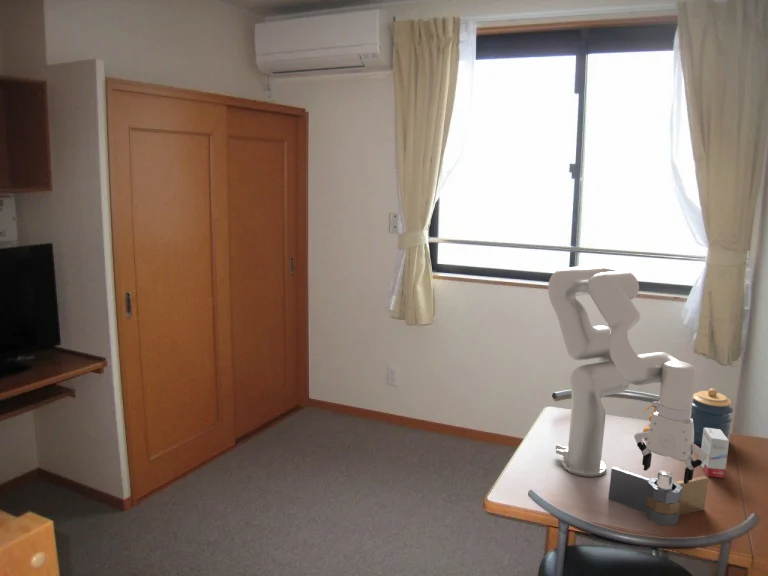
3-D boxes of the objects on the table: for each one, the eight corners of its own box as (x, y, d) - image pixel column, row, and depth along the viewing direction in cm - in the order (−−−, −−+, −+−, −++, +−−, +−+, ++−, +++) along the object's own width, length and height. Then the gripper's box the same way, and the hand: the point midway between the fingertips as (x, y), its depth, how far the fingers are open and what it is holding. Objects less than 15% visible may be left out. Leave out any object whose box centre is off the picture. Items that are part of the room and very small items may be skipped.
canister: (710, 430, 215) (717, 381, 211) (737, 447, 203) (745, 395, 199) (676, 432, 213) (682, 382, 209) (700, 449, 200) (707, 397, 197)
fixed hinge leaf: (681, 516, 162) (685, 484, 160) (671, 528, 157) (676, 495, 155) (614, 492, 173) (617, 462, 171) (603, 503, 168) (607, 472, 166)
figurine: (634, 434, 211) (638, 400, 208) (647, 430, 213) (651, 397, 211) (654, 444, 203) (659, 409, 201) (667, 440, 206) (672, 406, 204)
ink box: (725, 478, 182) (730, 440, 180) (706, 476, 183) (711, 438, 181) (716, 464, 191) (721, 428, 188) (698, 463, 191) (703, 426, 189)
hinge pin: (650, 517, 162) (656, 474, 159) (655, 511, 165) (660, 468, 162) (665, 522, 160) (671, 479, 157) (669, 516, 162) (675, 473, 160)
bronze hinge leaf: (660, 527, 157) (664, 494, 155) (639, 511, 164) (642, 480, 162) (713, 515, 163) (718, 484, 161) (691, 501, 170) (695, 470, 168)
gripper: (633, 406, 159) (626, 469, 162) (708, 426, 148) (699, 493, 151) (643, 398, 164) (636, 459, 168) (716, 416, 153) (707, 481, 157)
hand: (666, 475), depth 160 cm, fingers open, 9 cm apart
